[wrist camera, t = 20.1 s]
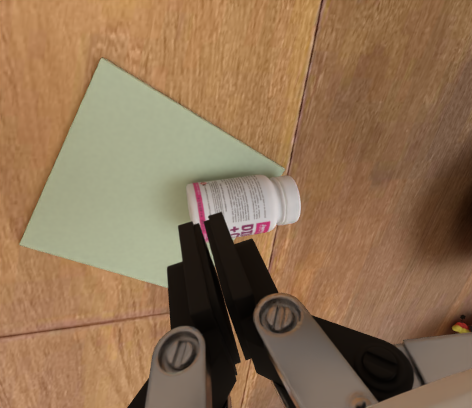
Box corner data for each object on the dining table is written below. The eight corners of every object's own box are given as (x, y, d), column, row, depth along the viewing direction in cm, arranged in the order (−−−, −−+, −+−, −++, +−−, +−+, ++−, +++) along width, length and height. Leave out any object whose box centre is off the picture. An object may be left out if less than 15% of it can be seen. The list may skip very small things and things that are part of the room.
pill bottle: (196, 248, 21) (307, 228, 22) (185, 181, 20) (298, 166, 22) (193, 241, 25) (285, 225, 27) (184, 186, 25) (277, 173, 27)
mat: (21, 240, 24) (18, 245, 23) (102, 56, 19) (100, 57, 19) (193, 291, 31) (193, 295, 30) (283, 167, 26) (285, 169, 26)
